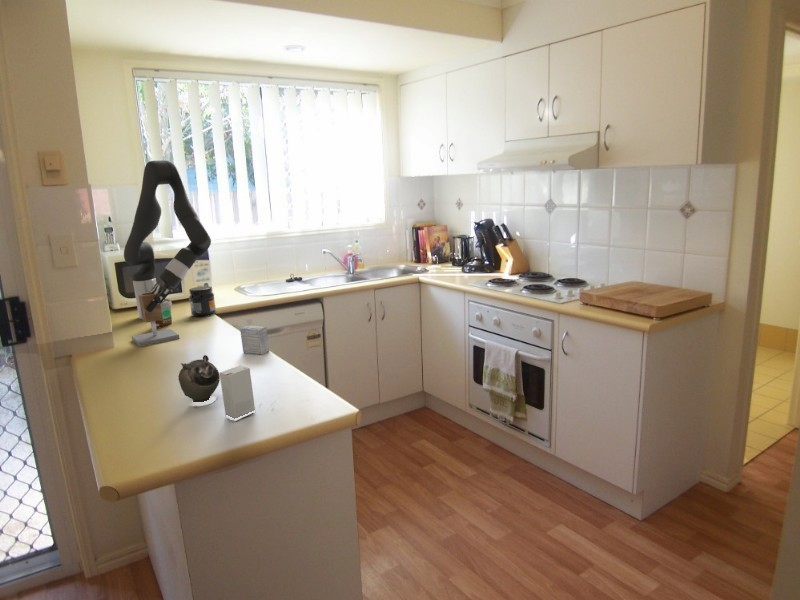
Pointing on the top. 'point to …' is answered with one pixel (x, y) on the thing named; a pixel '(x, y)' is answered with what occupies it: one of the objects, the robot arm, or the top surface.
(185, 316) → the top surface
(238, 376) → the skincare box
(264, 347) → the medicine box
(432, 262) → the top surface
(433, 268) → the top surface
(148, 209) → the robot arm
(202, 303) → the supplement container
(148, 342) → the post base
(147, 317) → the walnut sleeve
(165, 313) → the food container
